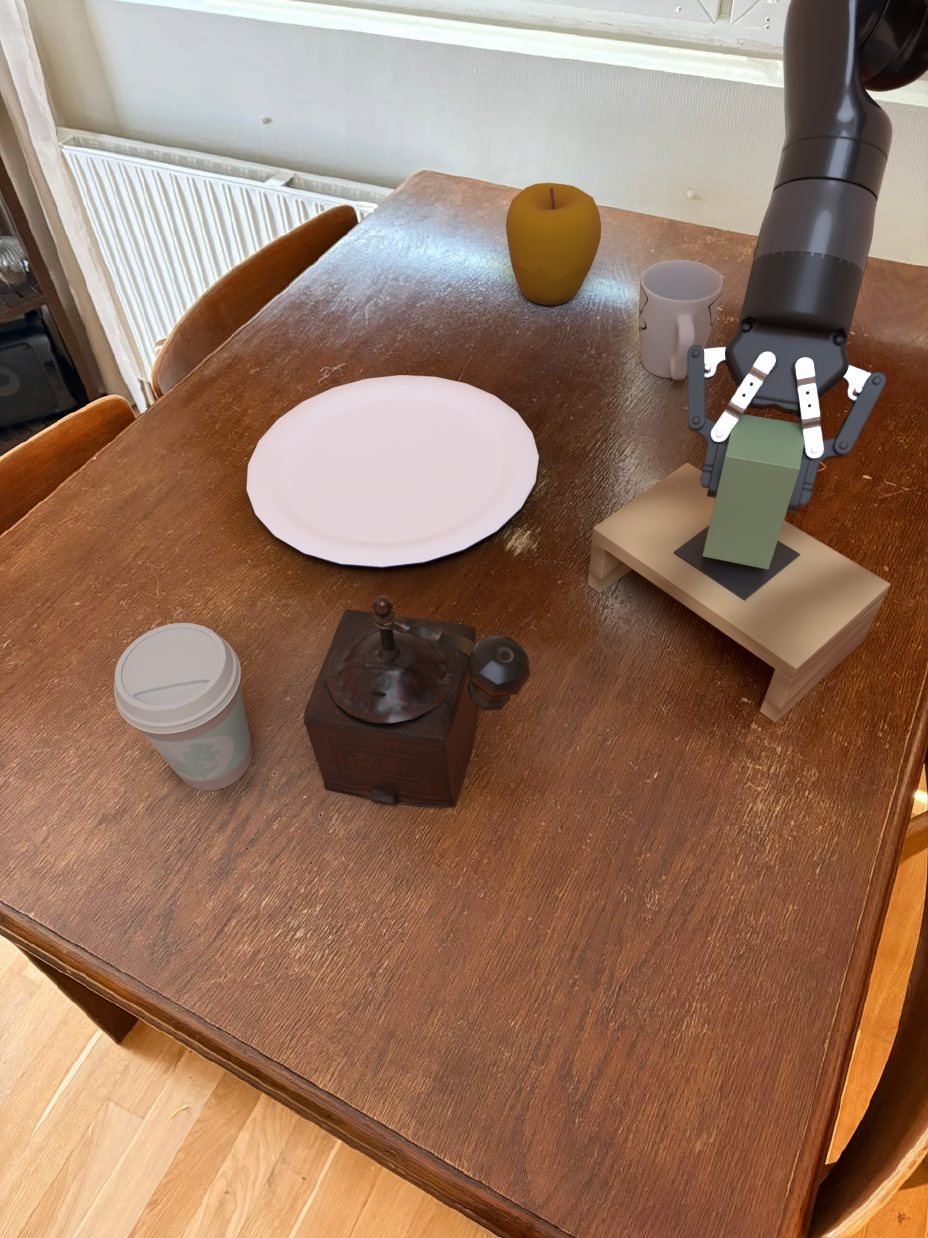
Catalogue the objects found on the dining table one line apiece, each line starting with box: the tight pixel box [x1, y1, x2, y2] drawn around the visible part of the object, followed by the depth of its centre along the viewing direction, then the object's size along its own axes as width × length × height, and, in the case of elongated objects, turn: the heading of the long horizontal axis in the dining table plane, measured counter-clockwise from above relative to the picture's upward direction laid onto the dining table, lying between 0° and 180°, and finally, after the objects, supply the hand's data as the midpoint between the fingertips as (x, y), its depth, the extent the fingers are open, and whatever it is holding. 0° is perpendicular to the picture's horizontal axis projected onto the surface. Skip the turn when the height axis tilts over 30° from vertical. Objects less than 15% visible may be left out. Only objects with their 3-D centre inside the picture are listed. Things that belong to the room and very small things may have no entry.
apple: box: [505, 182, 602, 306], centre depth 106 cm, size 11×11×13 cm
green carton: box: [703, 414, 805, 569], centre depth 67 cm, size 5×5×10 cm
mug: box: [638, 259, 724, 381], centre depth 96 cm, size 11×8×10 cm
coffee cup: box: [113, 622, 254, 792], centre depth 65 cm, size 8×9×12 cm
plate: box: [246, 374, 540, 569], centre depth 90 cm, size 29×29×2 cm
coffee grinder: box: [303, 595, 531, 808], centre depth 62 cm, size 16×11×18 cm
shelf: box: [587, 462, 891, 723], centre depth 74 cm, size 20×12×7 cm, turn 41°
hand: (751, 503), depth 65 cm, fingers closed on green carton, 5 cm apart
